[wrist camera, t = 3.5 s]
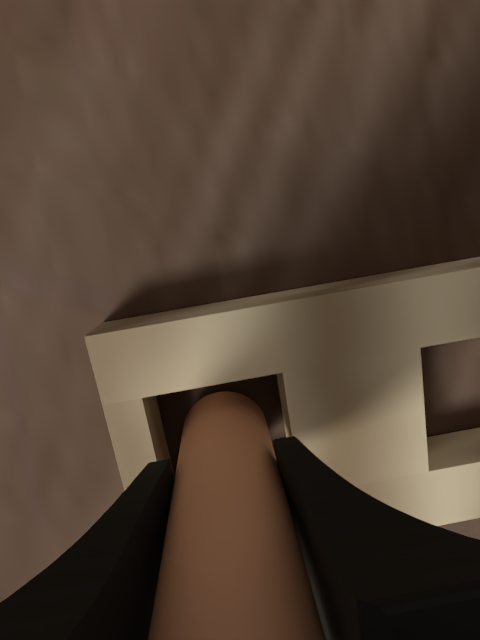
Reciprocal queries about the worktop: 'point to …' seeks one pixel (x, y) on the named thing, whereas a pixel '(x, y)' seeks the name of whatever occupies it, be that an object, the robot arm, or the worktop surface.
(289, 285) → the worktop surface
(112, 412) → the hole block
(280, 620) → the peg
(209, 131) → the worktop surface
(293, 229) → the worktop surface
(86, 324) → the worktop surface
